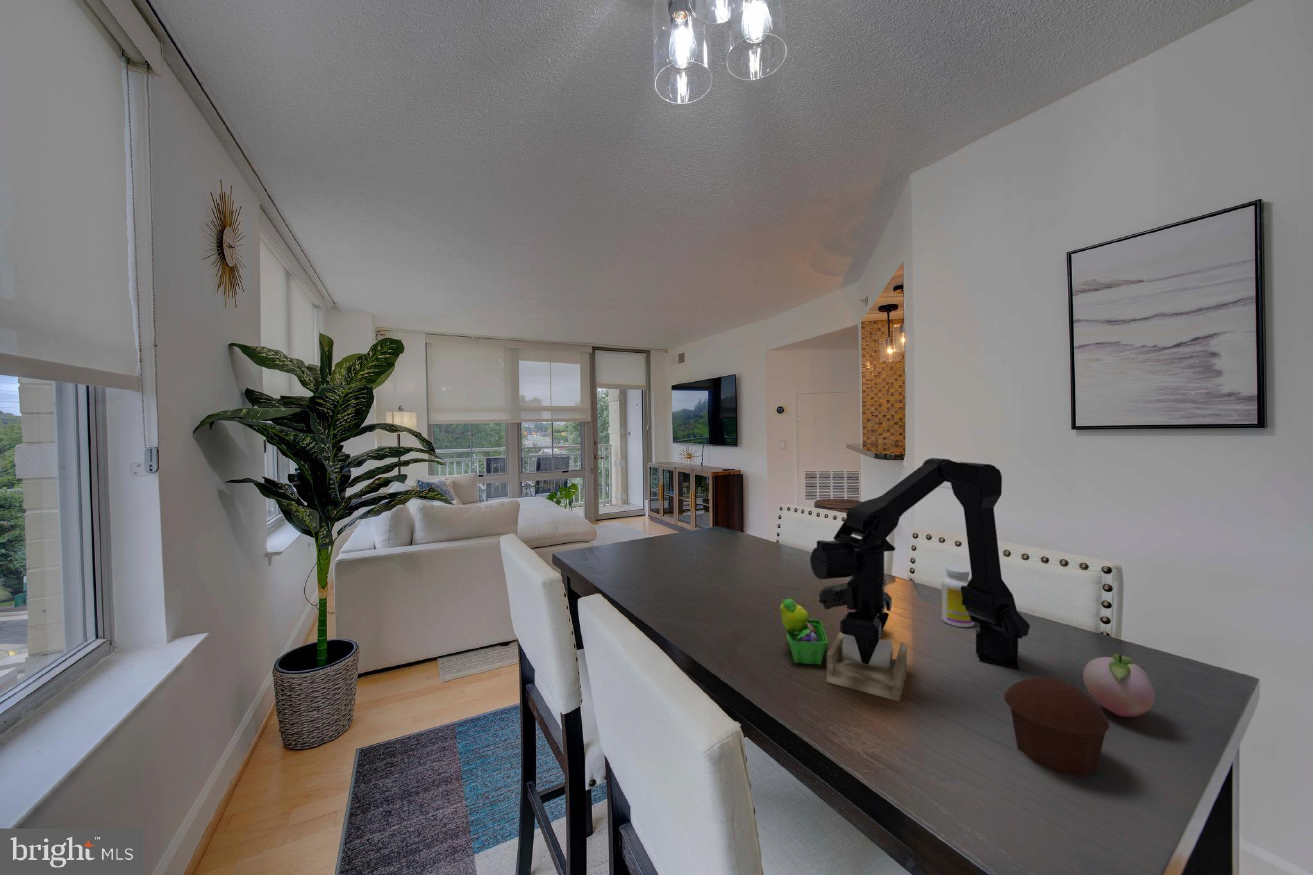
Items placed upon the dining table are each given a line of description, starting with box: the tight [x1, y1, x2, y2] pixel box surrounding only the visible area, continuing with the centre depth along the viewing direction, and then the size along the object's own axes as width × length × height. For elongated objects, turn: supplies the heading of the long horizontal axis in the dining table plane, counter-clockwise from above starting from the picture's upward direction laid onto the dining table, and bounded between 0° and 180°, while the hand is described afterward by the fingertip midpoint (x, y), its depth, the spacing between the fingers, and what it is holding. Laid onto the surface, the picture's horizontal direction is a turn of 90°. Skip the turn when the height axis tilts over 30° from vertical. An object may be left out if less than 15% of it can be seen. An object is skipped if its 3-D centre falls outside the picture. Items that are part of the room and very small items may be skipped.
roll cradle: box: [826, 631, 908, 702], centre depth 90 cm, size 12×12×5 cm
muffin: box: [1003, 676, 1110, 777], centre depth 68 cm, size 12×11×10 cm
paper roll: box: [842, 634, 894, 671], centre depth 90 cm, size 8×5×5 cm, turn 57°
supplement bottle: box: [941, 565, 975, 628], centre depth 114 cm, size 7×7×13 cm
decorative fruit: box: [1082, 653, 1156, 718], centre depth 77 cm, size 9×8×10 cm
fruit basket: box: [779, 598, 829, 666], centre depth 99 cm, size 11×9×11 cm
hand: (867, 657), depth 90 cm, fingers closed on paper roll, 5 cm apart
